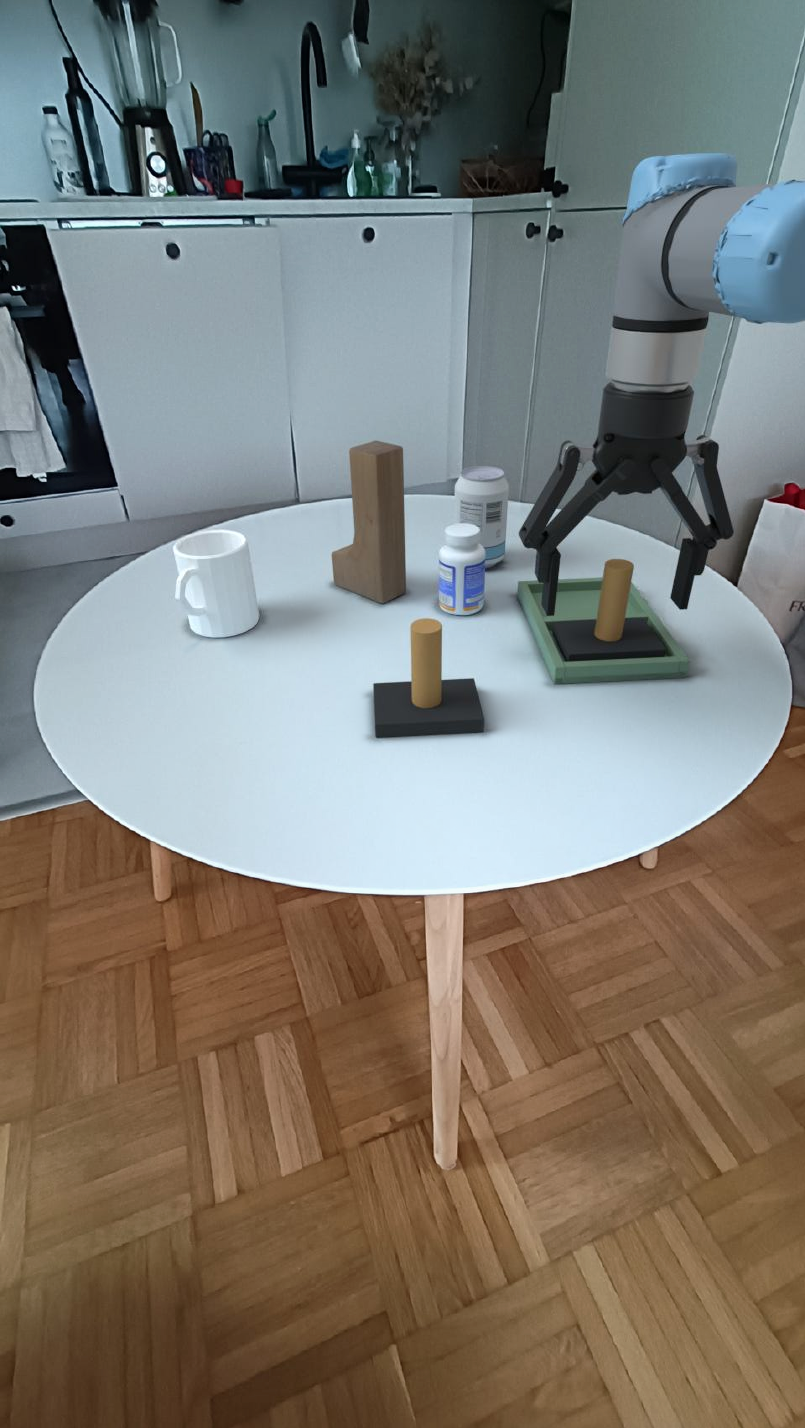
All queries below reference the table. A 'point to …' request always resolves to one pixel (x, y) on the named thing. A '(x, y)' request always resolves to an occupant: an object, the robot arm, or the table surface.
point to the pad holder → (581, 605)
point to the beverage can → (484, 507)
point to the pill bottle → (461, 570)
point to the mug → (216, 583)
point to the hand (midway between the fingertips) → (613, 607)
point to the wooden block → (375, 525)
